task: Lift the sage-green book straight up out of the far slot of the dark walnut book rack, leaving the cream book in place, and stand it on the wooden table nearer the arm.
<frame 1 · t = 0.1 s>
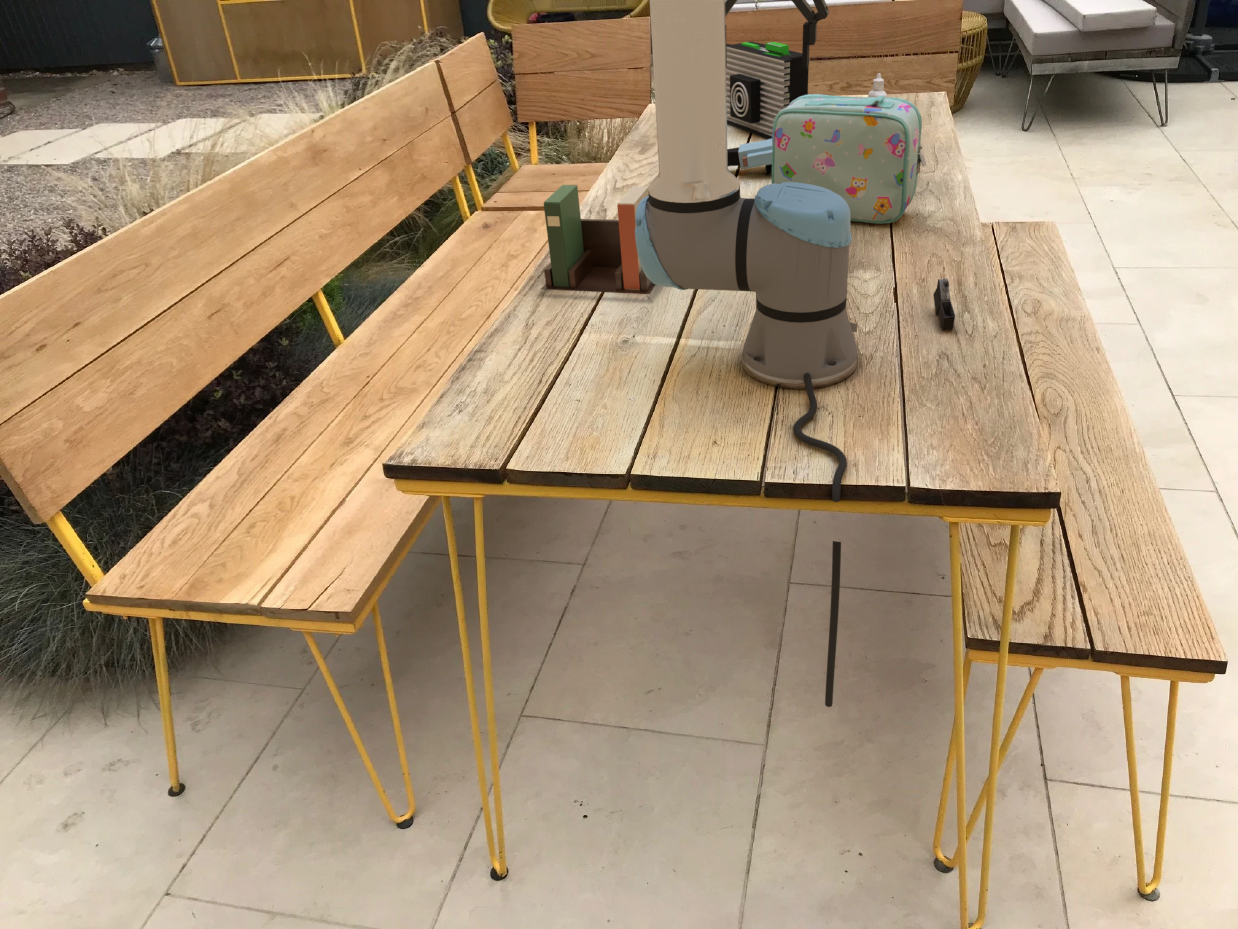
hand: (763, 68, 156), 28 cm above the table, tool pointing down, fingers open, 13 cm apart
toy: (751, 173, 202), on the table
electronic device: (759, 131, 229), on the table
lunch box: (844, 215, 176), on the table
cream book: (639, 279, 154), resting on book rack
green book: (570, 276, 158), point 1 cm above the table, touching book rack
eye dropper bottle: (875, 128, 224), on the table
book rack: (605, 284, 157), on the table
black narrow holder: (944, 320, 137), on the table
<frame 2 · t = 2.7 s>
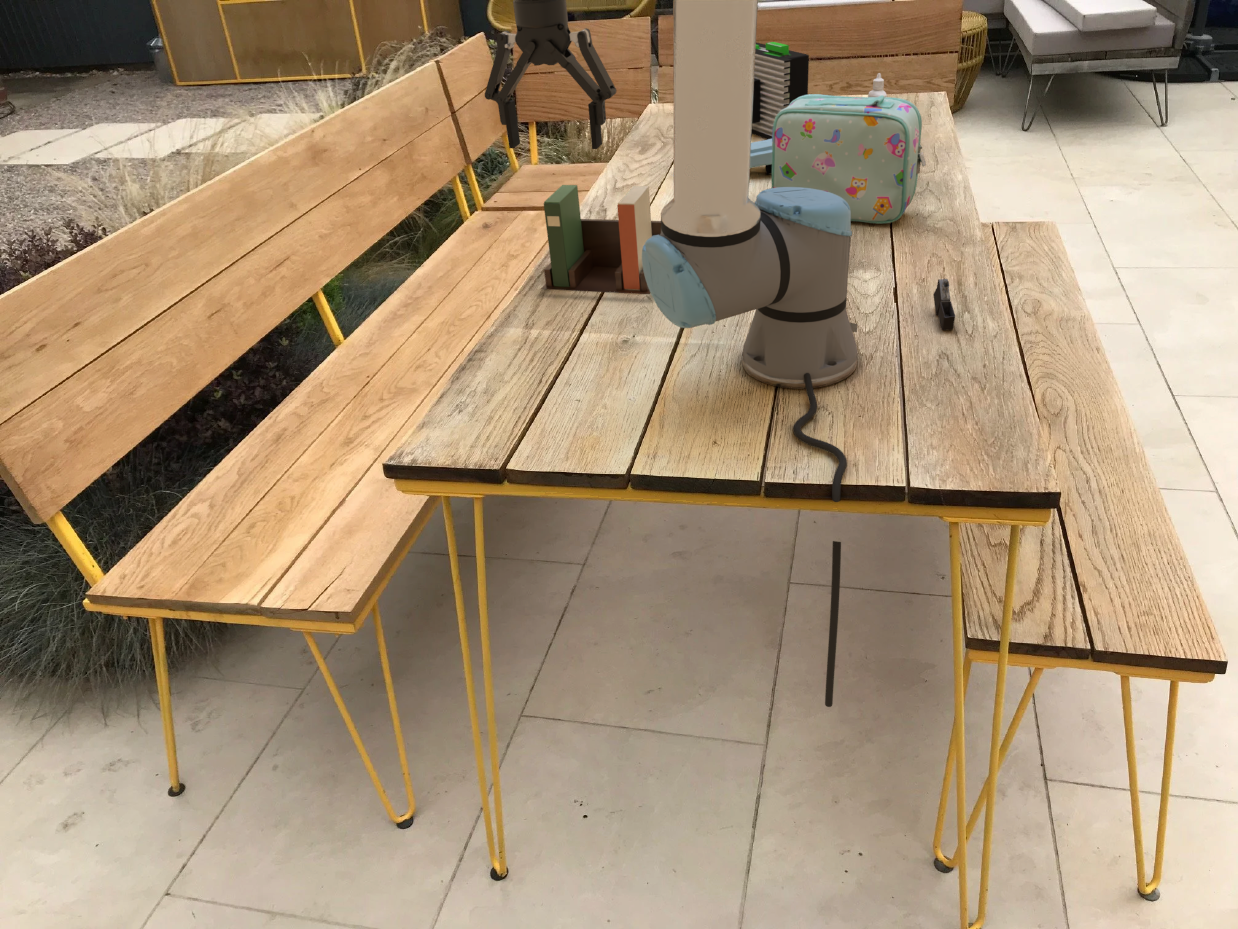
hand: (555, 146, 146), 22 cm above the table, tool pointing down, fingers open, 13 cm apart
nothing on the table moved.
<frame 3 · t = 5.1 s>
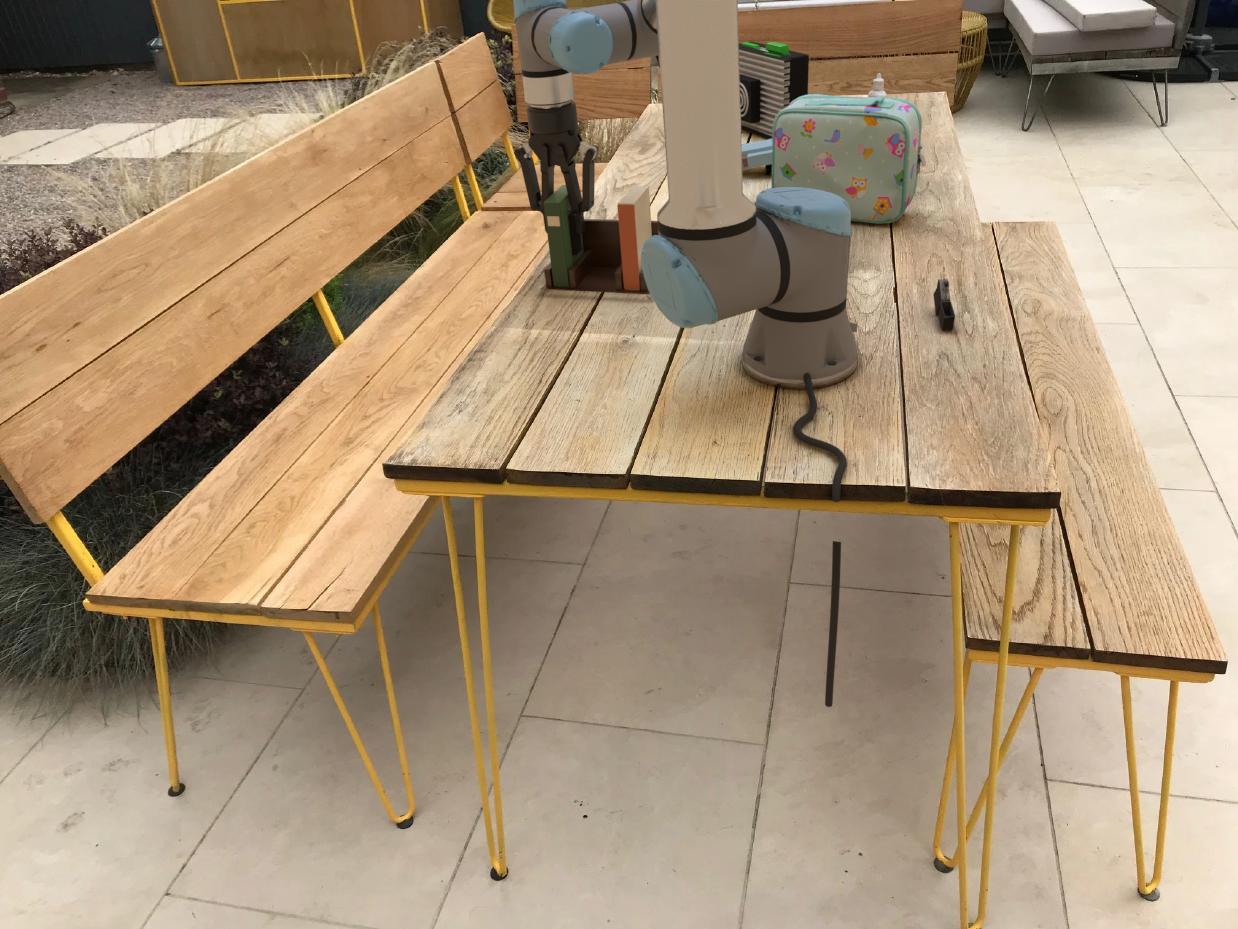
hand: (567, 251, 155), 6 cm above the table, tool pointing down, fingers closed on green book, 3 cm apart
green book: (570, 276, 158), point 1 cm above the table, touching book rack, gripper
everything else where it was.
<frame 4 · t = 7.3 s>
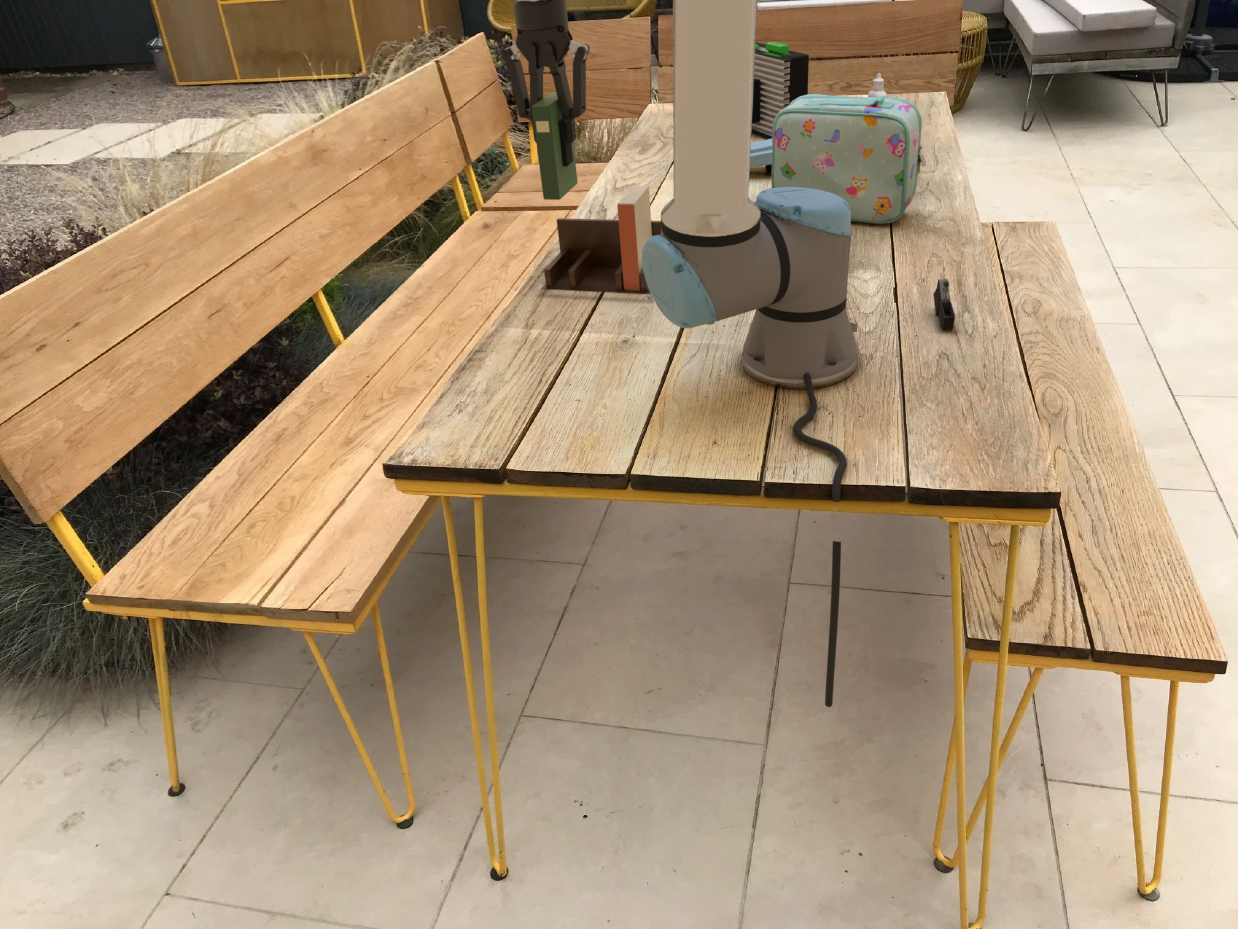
hand: (558, 163, 147), 20 cm above the table, tool pointing down, fingers closed on green book, 3 cm apart
green book: (561, 191, 150), point 16 cm above the table, touching gripper
everything else where it was.
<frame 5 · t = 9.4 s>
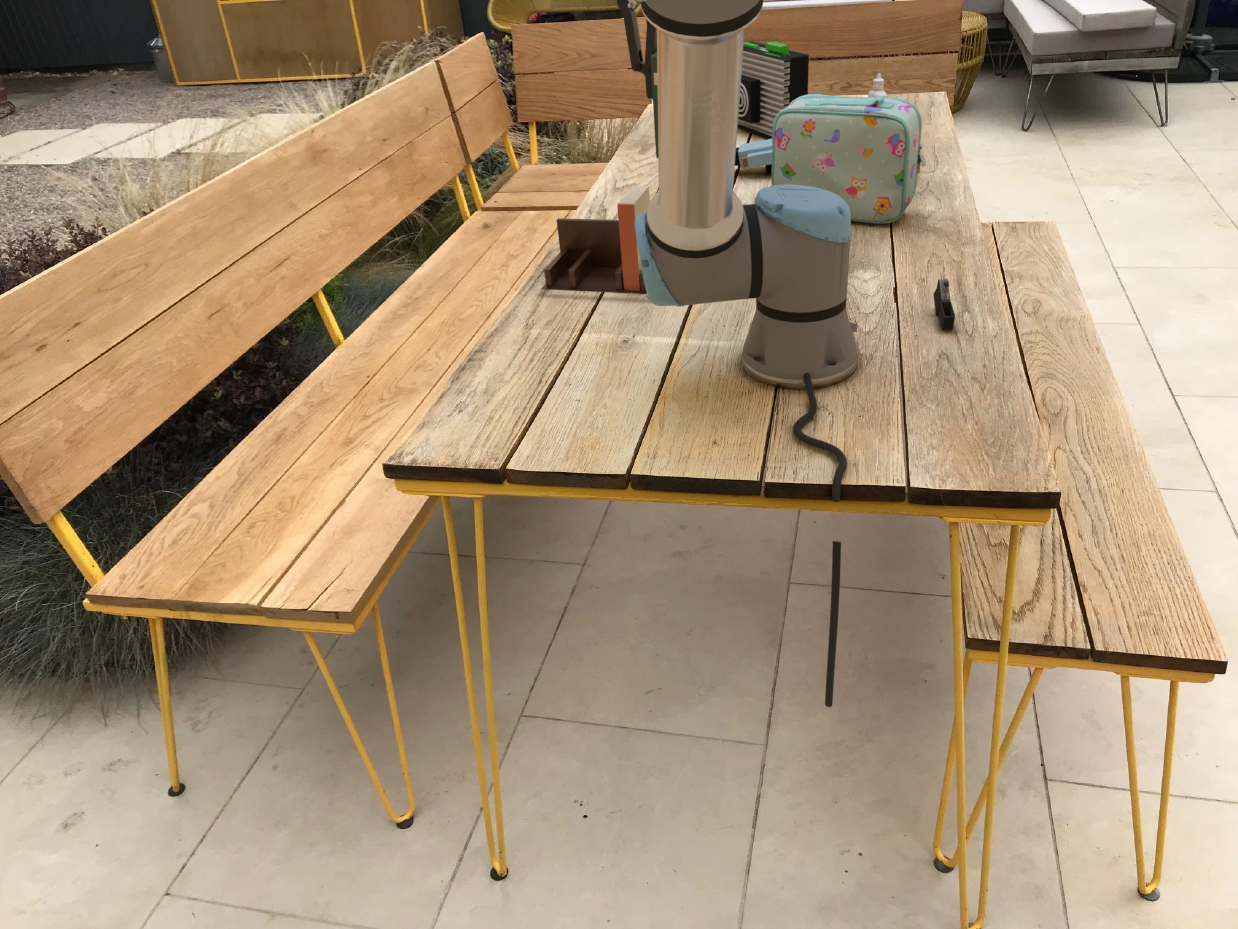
hand: (670, 120, 139), 26 cm above the table, tool pointing down, fingers closed on green book, 3 cm apart
green book: (671, 150, 142), point 22 cm above the table, touching gripper
everything else where it was.
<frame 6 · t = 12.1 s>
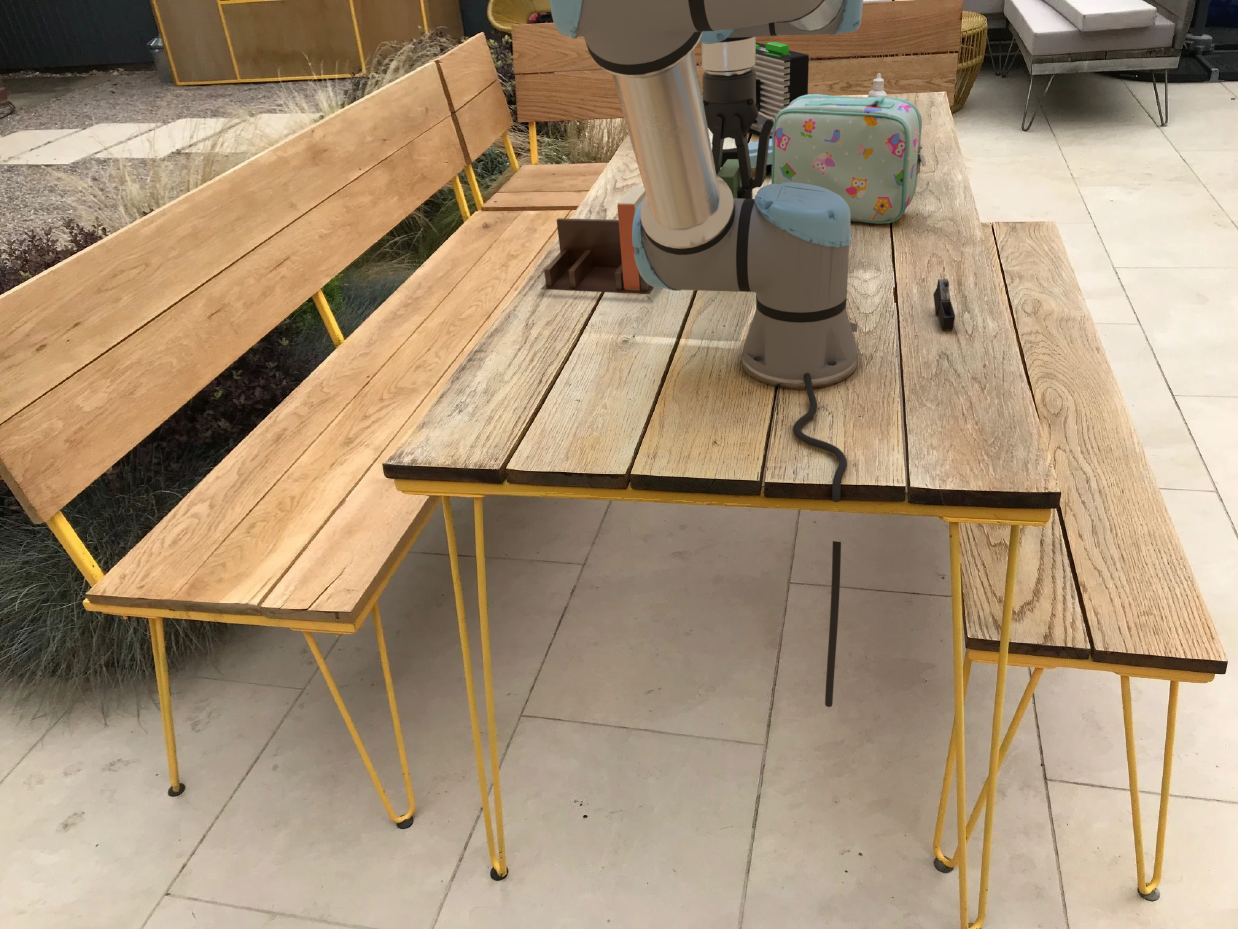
hand: (731, 230, 147), 9 cm above the table, tool pointing down, fingers closed on green book, 3 cm apart
green book: (731, 257, 149), point 5 cm above the table, touching gripper
everything else where it was.
when the fingers open (4 cm above the table, at t = 13.7 s): green book stays where it is, on the table.
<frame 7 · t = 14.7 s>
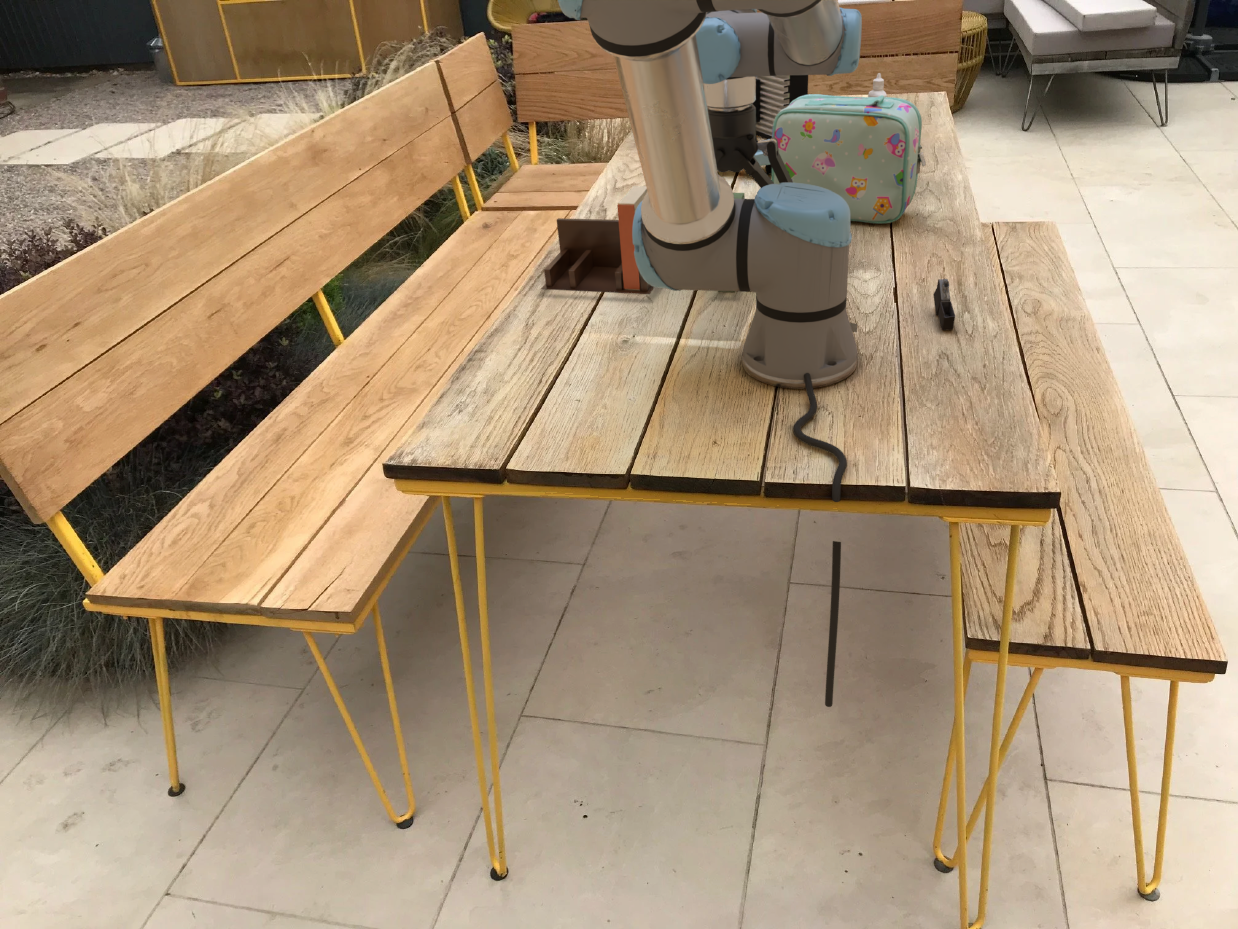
hand: (731, 247, 148), 7 cm above the table, tool pointing down, fingers open, 13 cm apart
green book: (732, 287, 152), on the table
everything else where it was.
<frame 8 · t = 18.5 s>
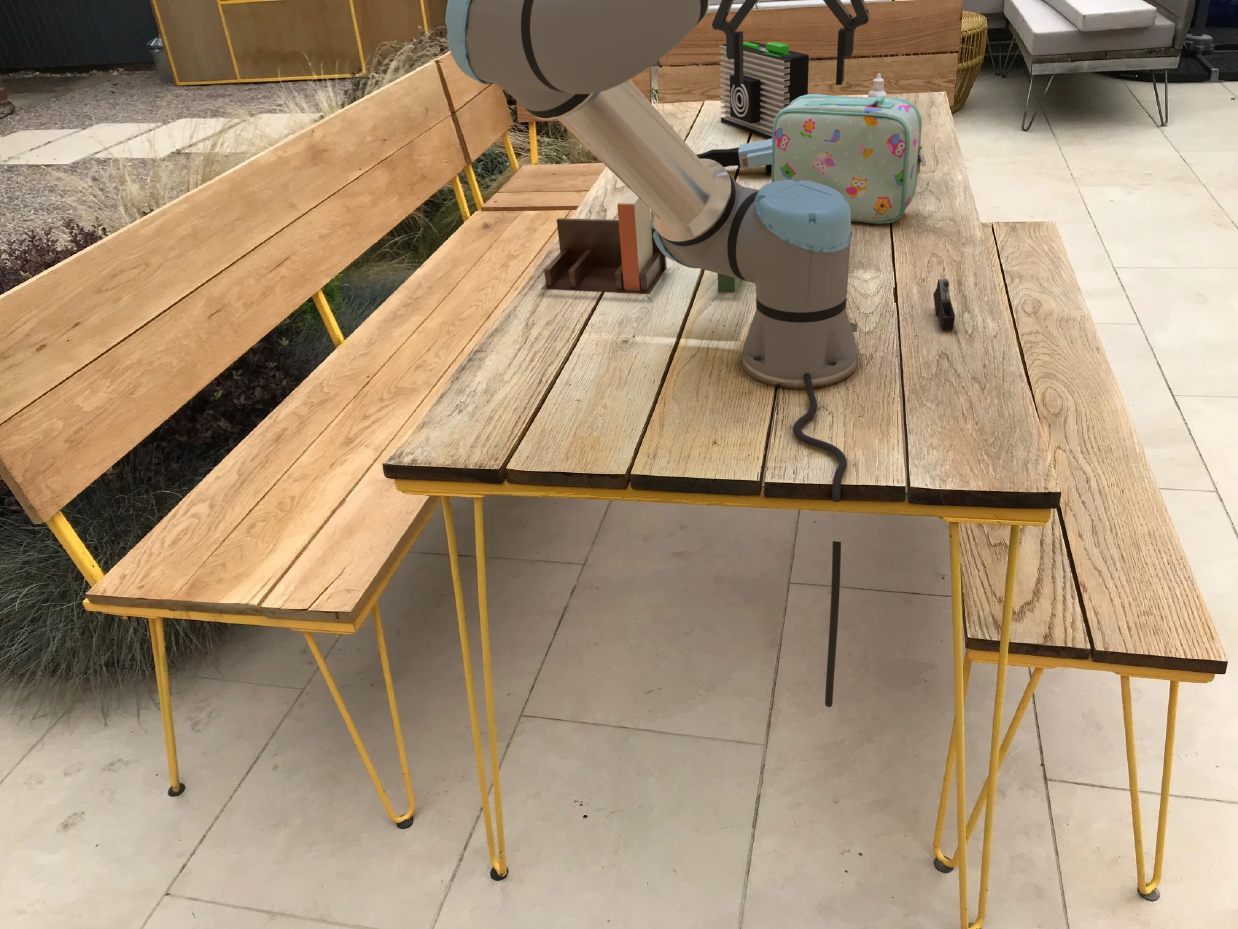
hand: (788, 83, 129), 32 cm above the table, tool pointing down, fingers open, 13 cm apart
nothing on the table moved.
at the end: green book inside the target area (0.1 cm from its centre), on the table; green book touching table; the gripper is holding nothing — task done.
